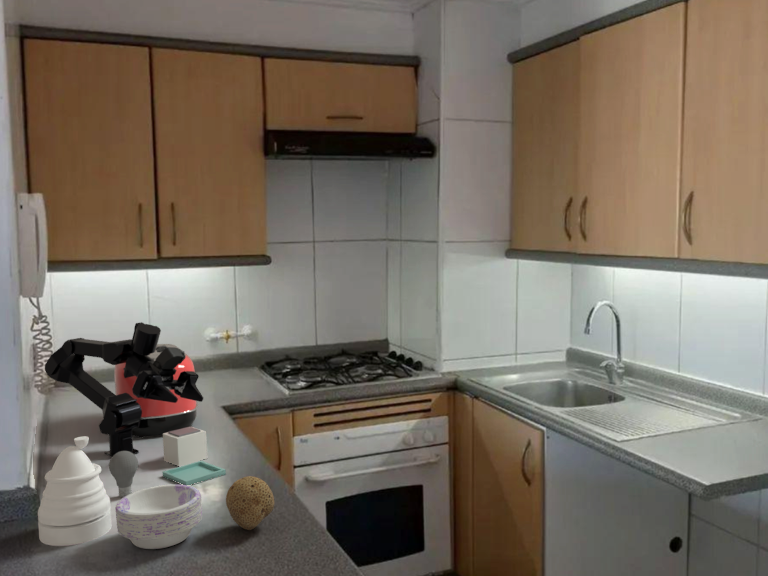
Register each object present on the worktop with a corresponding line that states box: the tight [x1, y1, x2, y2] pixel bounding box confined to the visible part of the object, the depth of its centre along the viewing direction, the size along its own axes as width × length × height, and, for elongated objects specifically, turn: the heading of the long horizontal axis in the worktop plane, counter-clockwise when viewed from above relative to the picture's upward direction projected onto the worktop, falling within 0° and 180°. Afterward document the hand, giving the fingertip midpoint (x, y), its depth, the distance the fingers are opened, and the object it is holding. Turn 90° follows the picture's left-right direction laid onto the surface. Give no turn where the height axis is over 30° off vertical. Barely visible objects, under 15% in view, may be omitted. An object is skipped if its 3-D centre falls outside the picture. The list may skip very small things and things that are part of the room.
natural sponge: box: [225, 475, 275, 531], centre depth 138 cm, size 9×9×10 cm
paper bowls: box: [115, 484, 203, 550], centre depth 134 cm, size 15×15×8 cm
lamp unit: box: [162, 426, 208, 467], centre depth 180 cm, size 7×8×7 cm
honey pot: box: [37, 435, 113, 547], centre depth 138 cm, size 13×13×18 cm
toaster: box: [113, 343, 199, 439], centre depth 214 cm, size 32×23×23 cm
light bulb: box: [108, 451, 139, 498], centre depth 156 cm, size 6×6×10 cm
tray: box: [162, 460, 227, 486], centre depth 169 cm, size 10×10×1 cm
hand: (189, 400), depth 173 cm, fingers open, 9 cm apart
